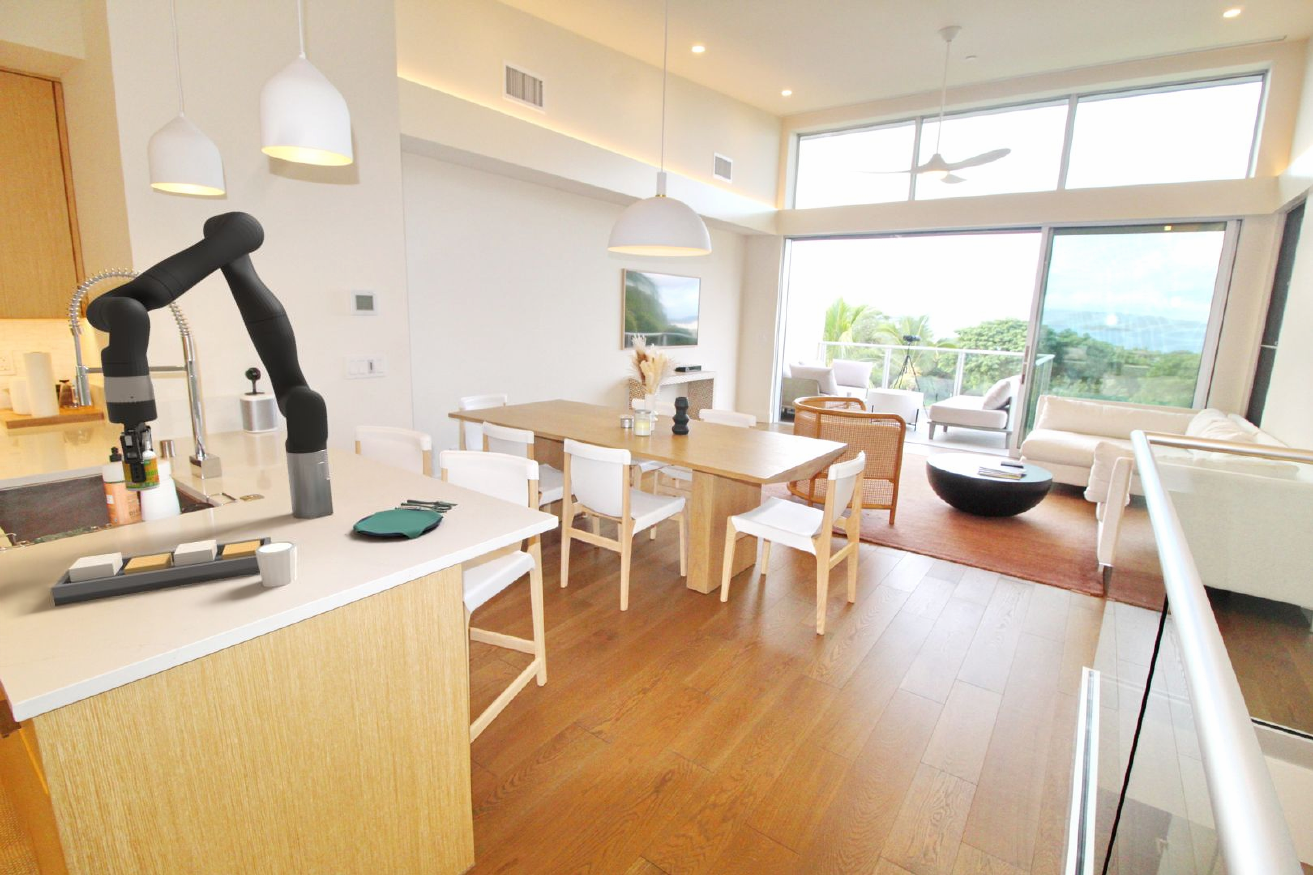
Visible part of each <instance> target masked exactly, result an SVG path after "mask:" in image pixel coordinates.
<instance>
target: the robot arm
mask: <svg viewBox="0 0 1313 875" xmlns="http://www.w3.org/2000/svg"><path fill="white" fill-rule="evenodd" d="M264 230H265V229H264V228H263V226H262V224H261V223H260V221H259V220H258V219H257V218H256V217H254V216H253V215H251V214H249V213H247V212H243V211H228V212H224V213H221V214H216V215H214V216H210V217H208V219H206V221H205V222H204V224H203V230H202V232H203V233H202V234H203V238H202V239H201V240H200V241H198V242H196V243H195V244H192V245H191V246H189V247H187V248H185V249H183V250H181V251H179V252H177V253H174V254H172V255H171V256H169V257H166V258H164V259H162V260H161V261H158V263H155V264H154V265H153V266H151V267H149V268H148V269H146V270H145V271H143V272H142V273H140V274H139V275H138V276H136V277H135V278H134V279H132V280H130V281H128V282H126V283H123V284H120V286H119V285H118V286H117V287H114V288H112V289H110V290H108V291H106V292H104V293H102V294H100V295H98V296H97V297H96V298H94V299H93V300H91V302H90V303H89V304H88V306H87V307H86V310H85V317H86V320H87V322H88V323H89V325H90V326H91V327H92V328H94V329H96V330H97V331H99V332H102V333H108V345H107V346H106V347H104V348H102V350H101V351H100V362H101V368H102V369H101V370H102V375H103V392H104V398H105V404H106V410H107V416H108V417H107V418H108V421H109V423H112V424H116V425H119V424H121V425H123V431H122V432H120V436H119V439H118V440H119V441H120V445H121V451H122V455H123V456H124V462H125V464H128V465H130V472H131V478H132V482H133V483H143V482H145V481H146V480H147V478H146V471H145V464H144V462H145V460H144V454H145V453H146V452H147V441H149V444H150V449H149V451H152V452H154V448H153V442H152V427H151V425H150V424H148V425H147V424H146V423H147V422H153V421H156V420H157V419H158V410H157V404H156V397H155V390H154V385H153V381H152V379H151V374H150V368H149V367H150V366H149V360H148V356H147V355H148V348H149V344H150V343H149V342H150V334H151V319H150V315H149V313H148V312H151V311H154V310H158V309H159V310H160V309H163V308H165V307H167V306H169V305H170V304H171V303H174V302H175V300H177V299H179V298H180V297H182V296H183V295H184V294H186V293H187V292H188V291H190V290H191V289H192V288H194V287H195V286H197V285H198V284H199V283H200V282H202V281H203V280H204V279H206V278H207V277H209V276H210V275H212V274H213V273H215V272H216V271H217V270H219V269H220V271H221V273H222V275H223V277H224V278H225V280H226V281H225V282H226V283H227V285H228V287H229V289H230V292H231V294H232V297H233V300H234V302H235V303H236V306H237V308H238V310H239V313H240V315H241V318H242V322H243V323H244V326H245V328H246V331H247V334H248V336H249V337H250V340H251V342H252V344H253V347H254V349H255V350H256V352H257V354H258V356H259V359H260V361H261V362H262V364H263V366H264V368H265V370H266V372H267V373H268V377H269V380H270V384H271V386H272V390H273V392H274V396H275V401H276V404H277V407H278V410H279V412H280V414H281V415H282V416H283V417H284V418H285V422H286V424H285V425H286V432H287V433H286V435H287V436H286V440H285V442H284V446H285V454H286V464H287V475H288V483H289V492H290V502H291V512H292V517H293V518H294V519H300V520H302V519H303V520H304V519H305V520H306V519H314V518H315V519H316V518H321V517H325V516H329V515H333V514H334V507H333V505H334V504H333V496H332V485H331V484H332V483H331V476H330V466H329V456H328V454H329V453H328V445H327V444H328V438H329V427H328V426H329V424H328V411H327V404H326V402H325V399H324V396H322V395H321V394H320V393H319V392H318V391H315V390H313V389H311V388H310V385H309V384H308V382H307V380H306V378H305V376H304V373H303V371H302V368H301V366H300V363H299V357H298V349H297V348H298V347H297V340H296V337H295V333H294V330H293V326H292V324H291V322H290V319H289V317H288V314H287V311H286V309H285V307H284V305H283V303H282V302H281V301H280V300H279V298H278V297H277V296H276V295H275V294H274V292H273V291H272V290H270V289H269V287H267V285H266V284H265V283H264V282H263V281H262V280H261V278H260V276H259V274H258V273H257V270H256V269H255V267H254V264H253V261H252V259H251V257H250V254H252V253H254V252H255V251H258V250H259V249H260V248H261V246H262V245H263V243H264V241H265V231H264ZM140 447H142V448H140ZM132 454H136V455H137V457H133V458H132Z"/></svg>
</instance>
